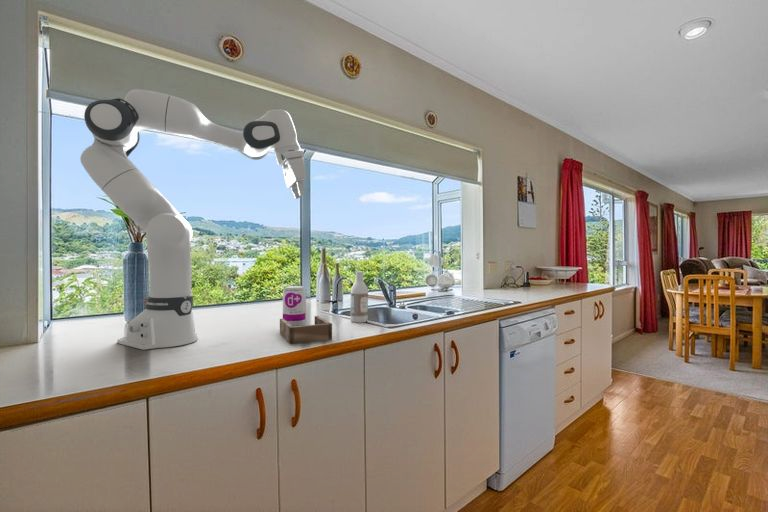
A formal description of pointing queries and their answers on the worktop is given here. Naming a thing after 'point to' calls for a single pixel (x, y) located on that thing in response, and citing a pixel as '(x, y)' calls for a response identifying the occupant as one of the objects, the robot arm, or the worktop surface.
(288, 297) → the supplement can
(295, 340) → the bay
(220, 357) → the worktop surface
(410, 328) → the worktop surface
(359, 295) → the bath foam
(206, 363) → the worktop surface
